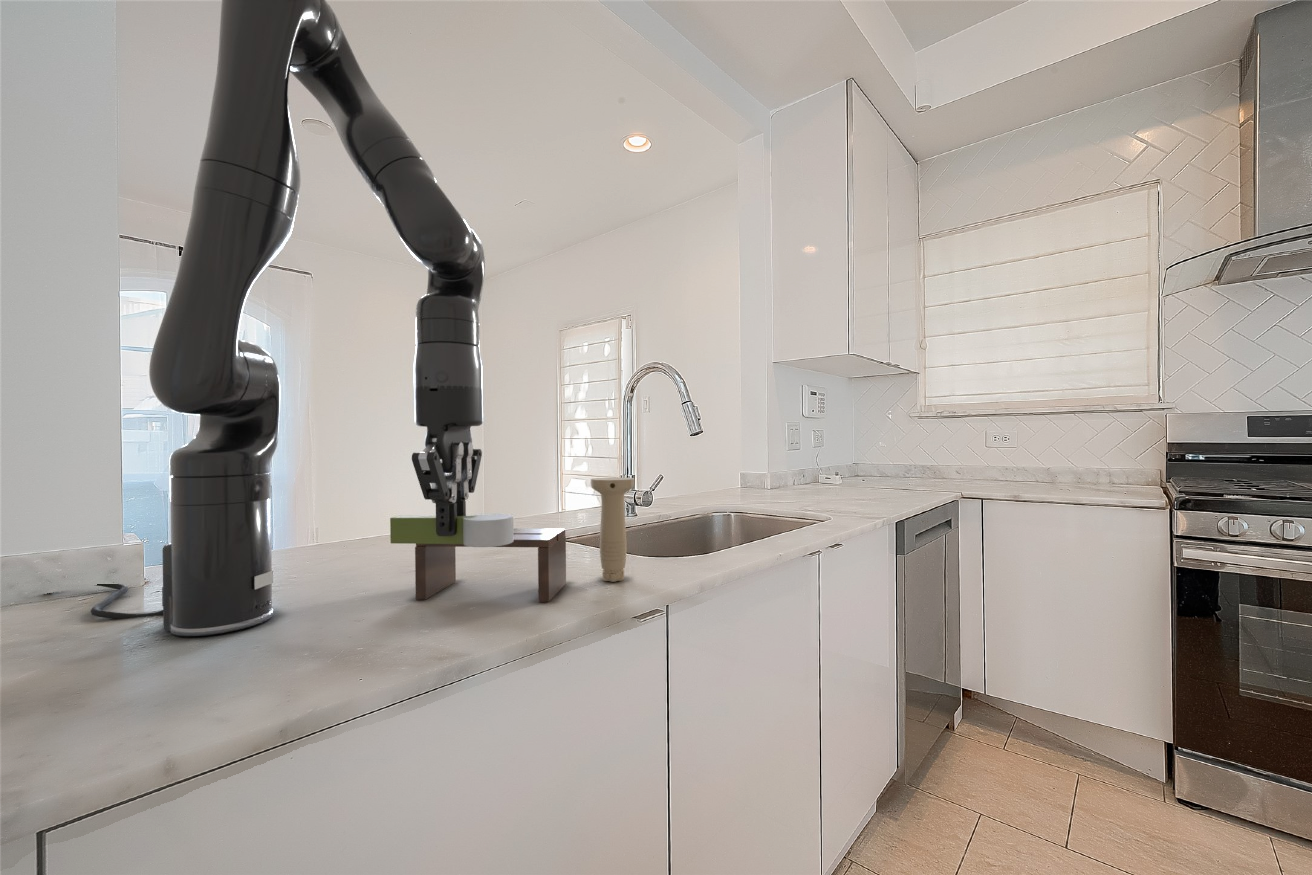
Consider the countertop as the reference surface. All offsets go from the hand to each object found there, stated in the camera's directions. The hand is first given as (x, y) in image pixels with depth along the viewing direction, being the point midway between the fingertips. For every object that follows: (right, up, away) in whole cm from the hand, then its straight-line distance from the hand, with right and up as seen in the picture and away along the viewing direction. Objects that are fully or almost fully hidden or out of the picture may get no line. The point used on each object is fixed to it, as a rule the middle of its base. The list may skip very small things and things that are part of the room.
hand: (451, 533), depth 66 cm
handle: (+18, -10, +18) cm, 27 cm away
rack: (+2, -10, +12) cm, 16 cm away
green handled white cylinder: (0, -1, 0) cm, 1 cm away
